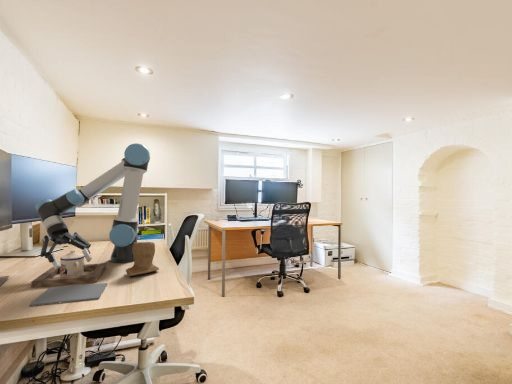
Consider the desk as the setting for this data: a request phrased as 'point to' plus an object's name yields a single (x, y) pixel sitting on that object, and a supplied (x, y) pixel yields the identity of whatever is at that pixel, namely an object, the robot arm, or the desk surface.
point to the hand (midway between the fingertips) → (74, 263)
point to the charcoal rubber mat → (70, 294)
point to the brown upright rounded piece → (142, 258)
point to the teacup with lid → (72, 264)
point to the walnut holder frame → (48, 279)
